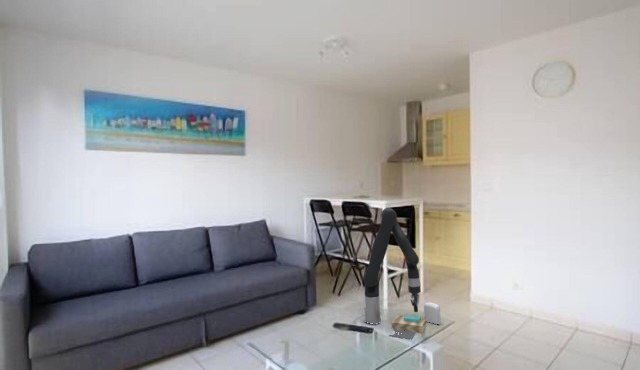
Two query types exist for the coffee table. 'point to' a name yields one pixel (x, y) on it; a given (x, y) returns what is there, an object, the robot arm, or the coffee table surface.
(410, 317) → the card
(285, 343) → the coffee table surface
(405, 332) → the mat
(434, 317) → the photo printer
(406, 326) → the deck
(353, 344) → the coffee table surface
